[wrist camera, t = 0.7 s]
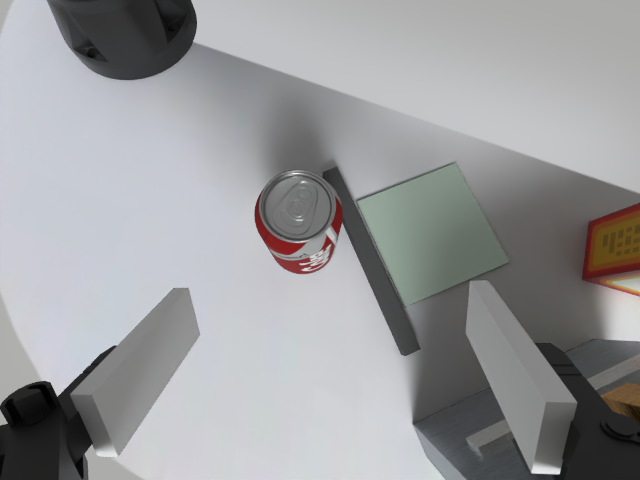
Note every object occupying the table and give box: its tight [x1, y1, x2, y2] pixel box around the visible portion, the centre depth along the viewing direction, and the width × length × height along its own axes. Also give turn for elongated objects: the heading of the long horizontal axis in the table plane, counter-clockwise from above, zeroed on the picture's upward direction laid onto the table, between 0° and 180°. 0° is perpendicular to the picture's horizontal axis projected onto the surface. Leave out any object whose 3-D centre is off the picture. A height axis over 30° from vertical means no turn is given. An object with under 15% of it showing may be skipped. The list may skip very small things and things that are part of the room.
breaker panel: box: [413, 339, 640, 480], centre depth 22 cm, size 5×20×24 cm, turn 112°
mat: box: [357, 163, 510, 307], centre depth 37 cm, size 12×12×1 cm
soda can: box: [255, 170, 343, 274], centre depth 30 cm, size 7×7×12 cm
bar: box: [323, 167, 420, 356], centre depth 35 cm, size 20×2×2 cm, turn 22°
